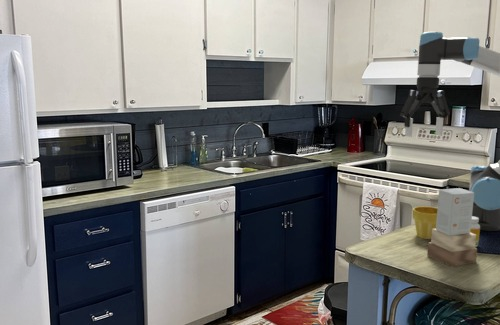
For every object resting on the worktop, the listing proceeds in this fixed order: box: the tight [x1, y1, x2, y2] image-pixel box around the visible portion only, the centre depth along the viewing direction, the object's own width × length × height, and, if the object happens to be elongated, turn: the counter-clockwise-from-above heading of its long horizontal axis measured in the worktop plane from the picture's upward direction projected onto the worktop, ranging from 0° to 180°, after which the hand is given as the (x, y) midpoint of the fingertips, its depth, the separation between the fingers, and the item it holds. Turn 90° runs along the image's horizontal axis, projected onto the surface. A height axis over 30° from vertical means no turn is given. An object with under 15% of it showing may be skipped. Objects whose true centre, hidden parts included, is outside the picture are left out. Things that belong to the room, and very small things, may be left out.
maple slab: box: [430, 228, 476, 252], centre depth 152 cm, size 9×9×4 cm
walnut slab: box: [426, 241, 478, 267], centre depth 153 cm, size 10×10×4 cm
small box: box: [436, 187, 474, 236], centre depth 150 cm, size 8×6×13 cm
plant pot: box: [412, 205, 438, 240], centre depth 173 cm, size 10×10×10 cm
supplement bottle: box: [470, 216, 481, 248], centre depth 165 cm, size 5×5×10 cm
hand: (423, 135), depth 179 cm, fingers open, 13 cm apart
